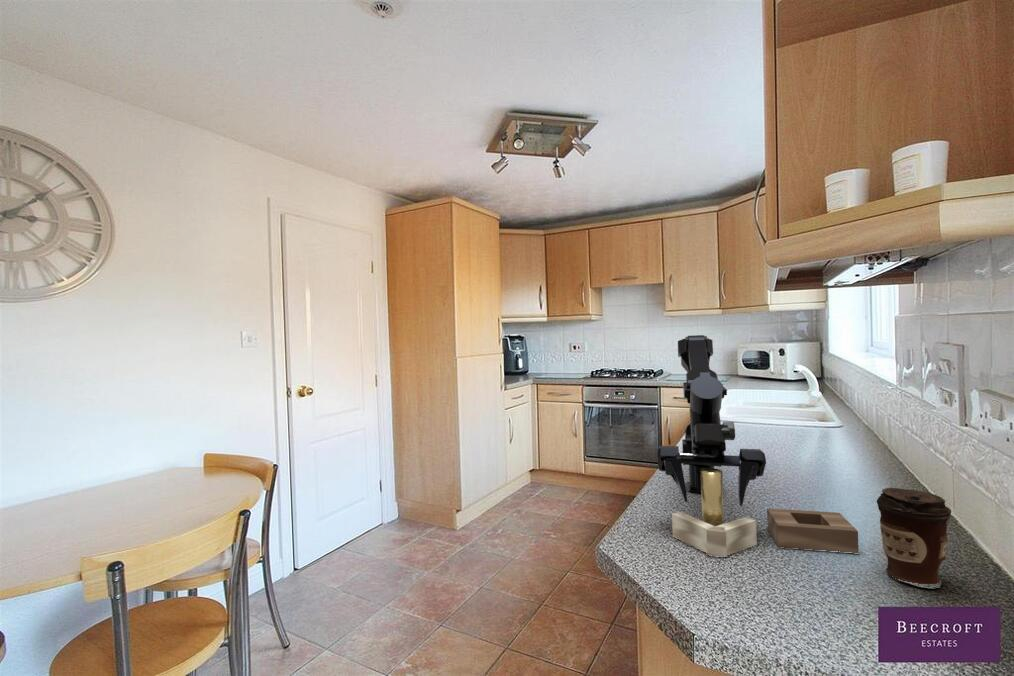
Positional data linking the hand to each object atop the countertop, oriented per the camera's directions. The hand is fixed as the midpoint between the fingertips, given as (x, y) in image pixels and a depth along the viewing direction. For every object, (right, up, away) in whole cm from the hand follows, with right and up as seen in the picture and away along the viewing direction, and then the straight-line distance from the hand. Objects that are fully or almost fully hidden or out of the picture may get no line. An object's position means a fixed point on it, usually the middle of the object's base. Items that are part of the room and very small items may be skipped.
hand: (713, 503), depth 85 cm
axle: (+1, -8, +1) cm, 8 cm away
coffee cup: (+24, -7, -13) cm, 29 cm away
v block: (0, -8, -1) cm, 8 cm away
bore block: (+17, -7, 0) cm, 19 cm away
